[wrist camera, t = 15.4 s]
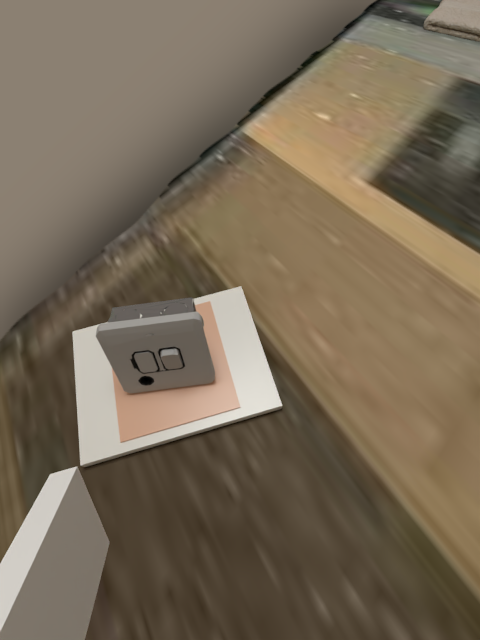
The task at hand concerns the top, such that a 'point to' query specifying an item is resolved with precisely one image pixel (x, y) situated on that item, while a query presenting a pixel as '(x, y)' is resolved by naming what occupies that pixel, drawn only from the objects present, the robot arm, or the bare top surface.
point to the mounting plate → (175, 403)
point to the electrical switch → (157, 346)
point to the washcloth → (456, 19)
